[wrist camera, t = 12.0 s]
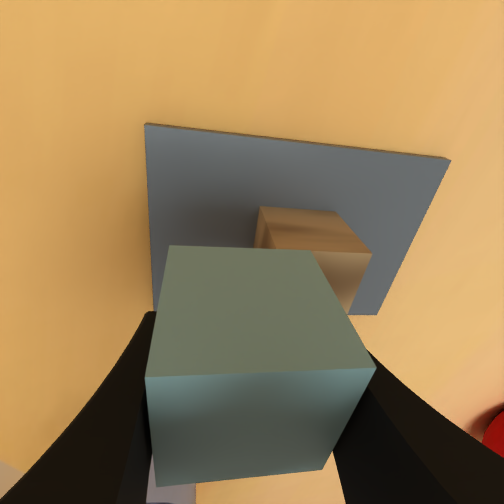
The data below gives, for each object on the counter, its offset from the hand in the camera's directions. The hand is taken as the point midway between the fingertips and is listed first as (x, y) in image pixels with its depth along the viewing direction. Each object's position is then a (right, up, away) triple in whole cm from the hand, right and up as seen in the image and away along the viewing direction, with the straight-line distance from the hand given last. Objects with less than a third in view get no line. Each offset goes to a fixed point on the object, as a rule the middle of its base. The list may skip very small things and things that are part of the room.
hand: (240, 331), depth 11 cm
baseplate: (+3, +4, +10) cm, 11 cm away
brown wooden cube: (+3, +3, +9) cm, 10 cm away
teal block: (0, +1, +1) cm, 2 cm away
